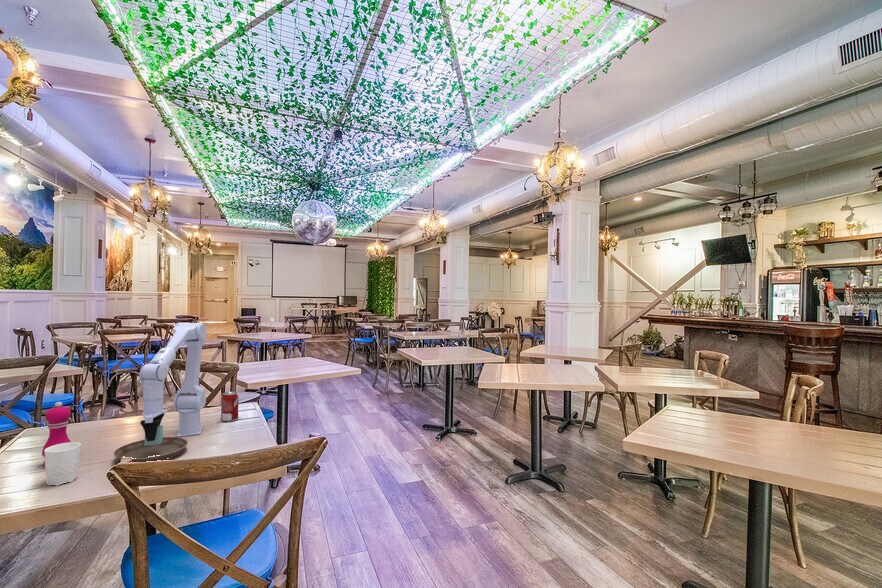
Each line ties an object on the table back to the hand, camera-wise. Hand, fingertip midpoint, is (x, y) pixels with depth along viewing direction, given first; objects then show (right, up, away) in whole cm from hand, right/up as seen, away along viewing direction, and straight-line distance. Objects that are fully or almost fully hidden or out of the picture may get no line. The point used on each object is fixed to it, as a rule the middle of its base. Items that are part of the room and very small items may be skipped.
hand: (152, 438), depth 140 cm
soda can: (+6, -6, +40) cm, 41 cm away
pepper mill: (-25, -6, -8) cm, 27 cm away
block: (0, -2, 0) cm, 2 cm away
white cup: (-13, -6, -20) cm, 24 cm away
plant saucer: (0, -6, 0) cm, 6 cm away
